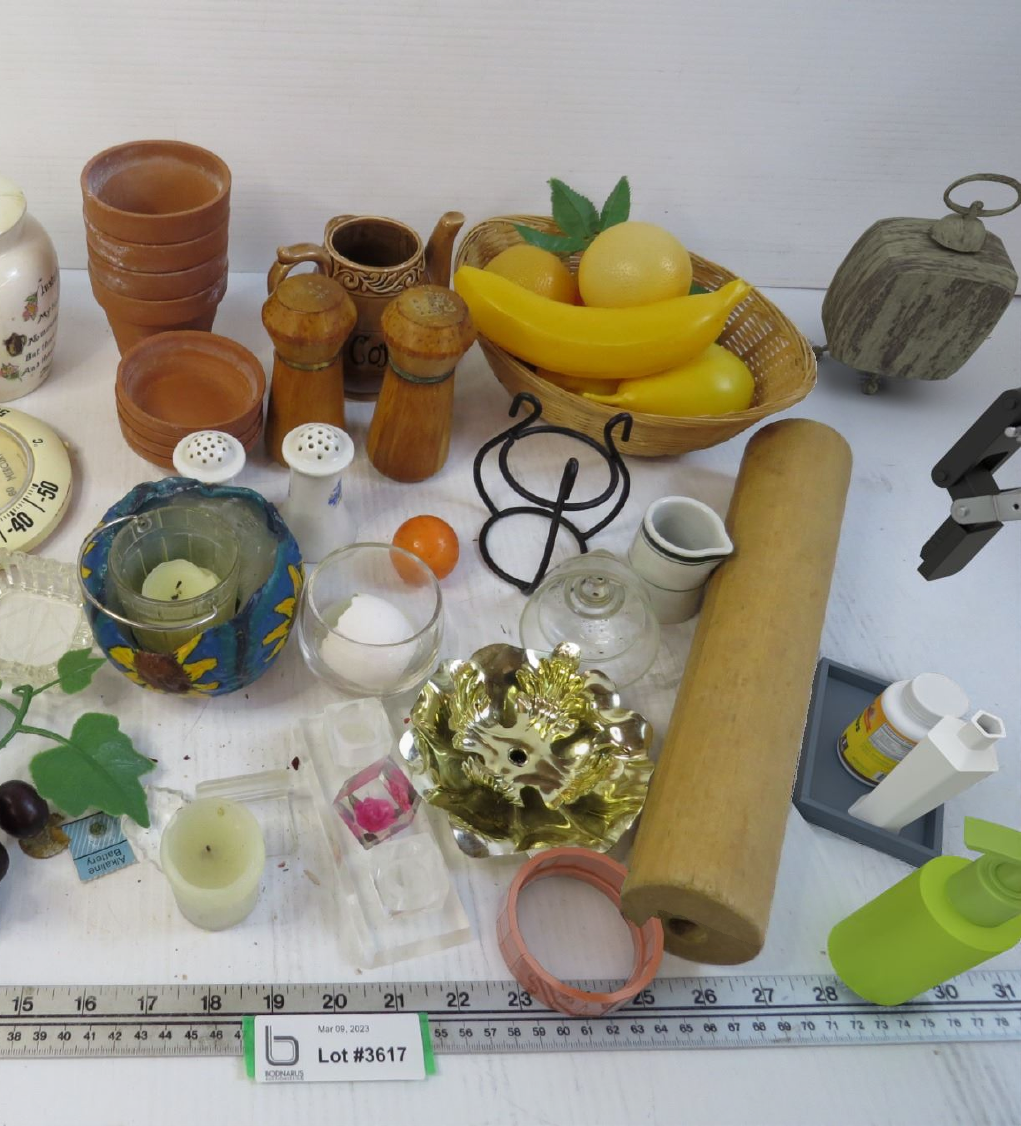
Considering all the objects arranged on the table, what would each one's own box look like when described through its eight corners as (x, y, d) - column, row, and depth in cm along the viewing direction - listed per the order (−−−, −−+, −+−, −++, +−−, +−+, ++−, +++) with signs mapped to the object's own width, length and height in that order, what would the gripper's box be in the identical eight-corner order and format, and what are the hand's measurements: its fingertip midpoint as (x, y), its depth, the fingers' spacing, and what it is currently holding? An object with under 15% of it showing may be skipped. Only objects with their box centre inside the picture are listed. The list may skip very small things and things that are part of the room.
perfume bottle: (833, 827, 75) (946, 732, 63) (847, 785, 77) (958, 686, 65) (894, 860, 73) (1021, 769, 62) (907, 817, 75) (1031, 721, 64)
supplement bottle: (859, 719, 81) (929, 650, 73) (919, 770, 78) (997, 704, 70) (818, 750, 78) (885, 684, 71) (878, 804, 76) (954, 740, 68)
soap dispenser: (807, 905, 71) (970, 782, 55) (906, 948, 69) (1103, 834, 54) (797, 979, 67) (969, 871, 52) (901, 1027, 66) (1111, 929, 50)
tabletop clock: (920, 368, 112) (1066, 164, 93) (936, 418, 107) (1095, 213, 87) (793, 346, 114) (909, 142, 94) (802, 395, 108) (928, 188, 89)
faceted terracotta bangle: (667, 996, 66) (694, 975, 62) (533, 1043, 64) (552, 1024, 60) (592, 857, 73) (613, 829, 69) (468, 895, 70) (482, 869, 66)
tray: (925, 871, 73) (941, 860, 71) (787, 812, 76) (800, 800, 74) (935, 717, 82) (949, 704, 80) (811, 669, 84) (823, 656, 83)
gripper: (1595, 497, 30) (1187, 749, 42) (1194, 245, 38) (954, 517, 51) (1427, 546, 28) (1054, 793, 41) (1047, 271, 36) (836, 546, 49)
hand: (999, 640), depth 46 cm, fingers open, 8 cm apart
